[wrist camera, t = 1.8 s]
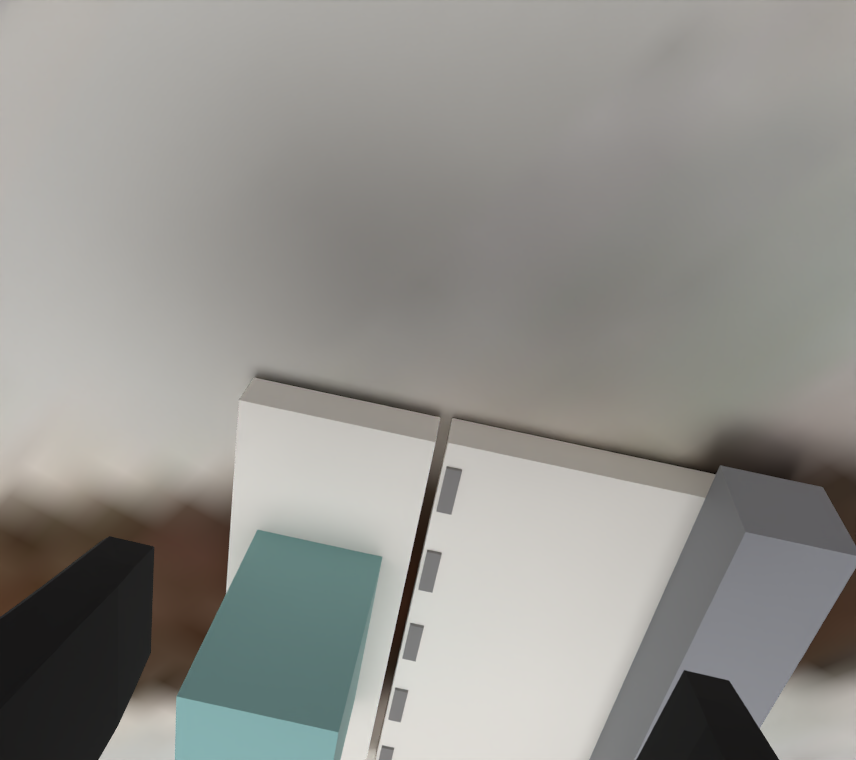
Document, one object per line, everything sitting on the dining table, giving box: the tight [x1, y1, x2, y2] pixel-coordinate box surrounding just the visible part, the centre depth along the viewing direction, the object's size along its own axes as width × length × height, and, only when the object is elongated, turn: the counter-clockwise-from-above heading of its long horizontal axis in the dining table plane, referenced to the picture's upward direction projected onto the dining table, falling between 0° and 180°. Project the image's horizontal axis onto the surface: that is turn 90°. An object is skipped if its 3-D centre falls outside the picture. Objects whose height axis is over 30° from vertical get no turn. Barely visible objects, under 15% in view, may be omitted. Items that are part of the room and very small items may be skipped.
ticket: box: [375, 418, 856, 760], centre depth 22 cm, size 9×16×4 cm, turn 170°
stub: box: [175, 378, 441, 760], centre depth 21 cm, size 5×14×7 cm, turn 170°
